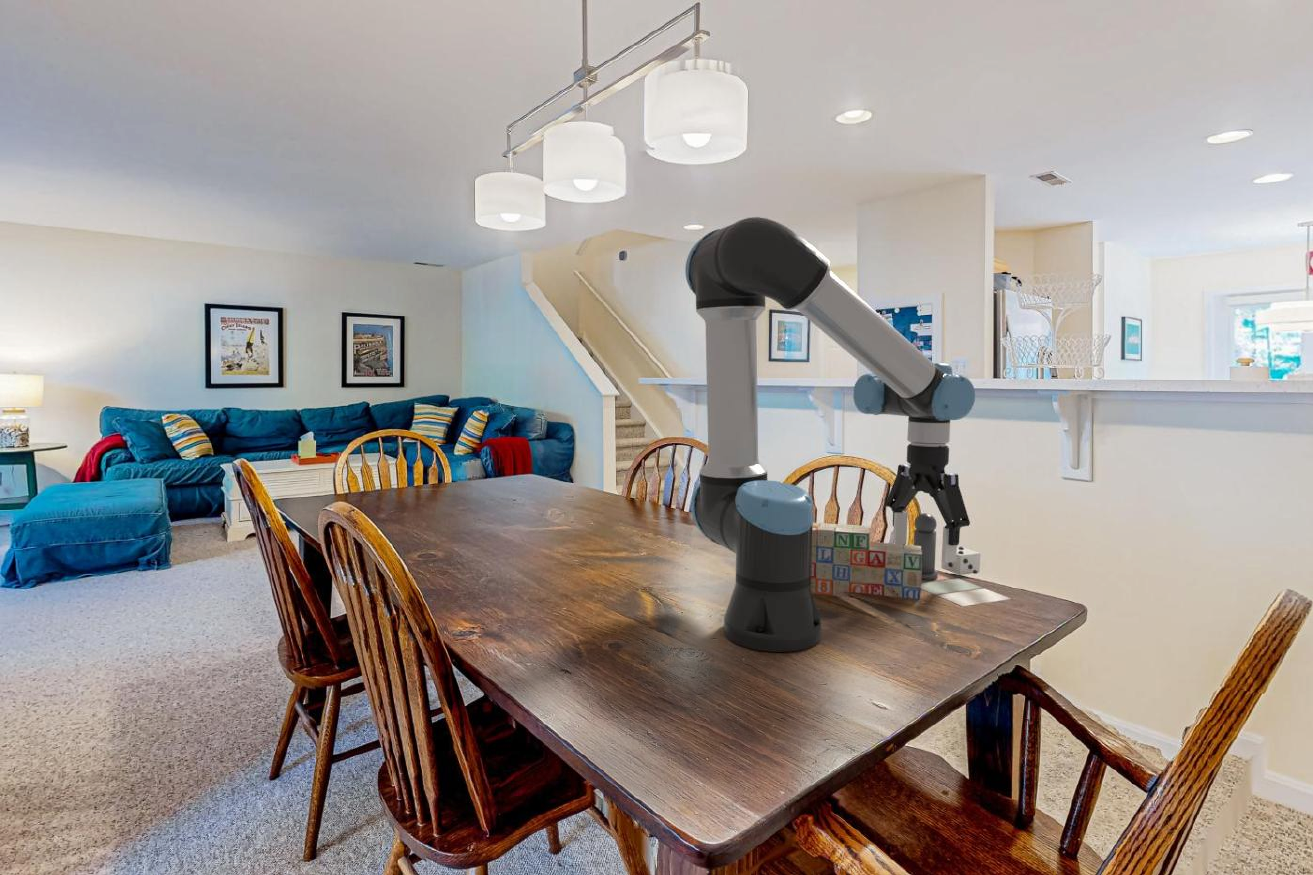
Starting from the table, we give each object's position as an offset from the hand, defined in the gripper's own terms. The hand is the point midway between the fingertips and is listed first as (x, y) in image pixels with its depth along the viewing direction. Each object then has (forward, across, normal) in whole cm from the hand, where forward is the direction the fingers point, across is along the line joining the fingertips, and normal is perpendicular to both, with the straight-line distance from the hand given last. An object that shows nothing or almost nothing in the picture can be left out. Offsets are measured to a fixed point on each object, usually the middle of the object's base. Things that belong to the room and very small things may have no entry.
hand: (923, 552), depth 136 cm
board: (+6, -3, 0) cm, 7 cm away
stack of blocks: (+6, -1, +16) cm, 17 cm away
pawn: (+5, 0, 0) cm, 5 cm away
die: (+6, +1, -10) cm, 12 cm away
